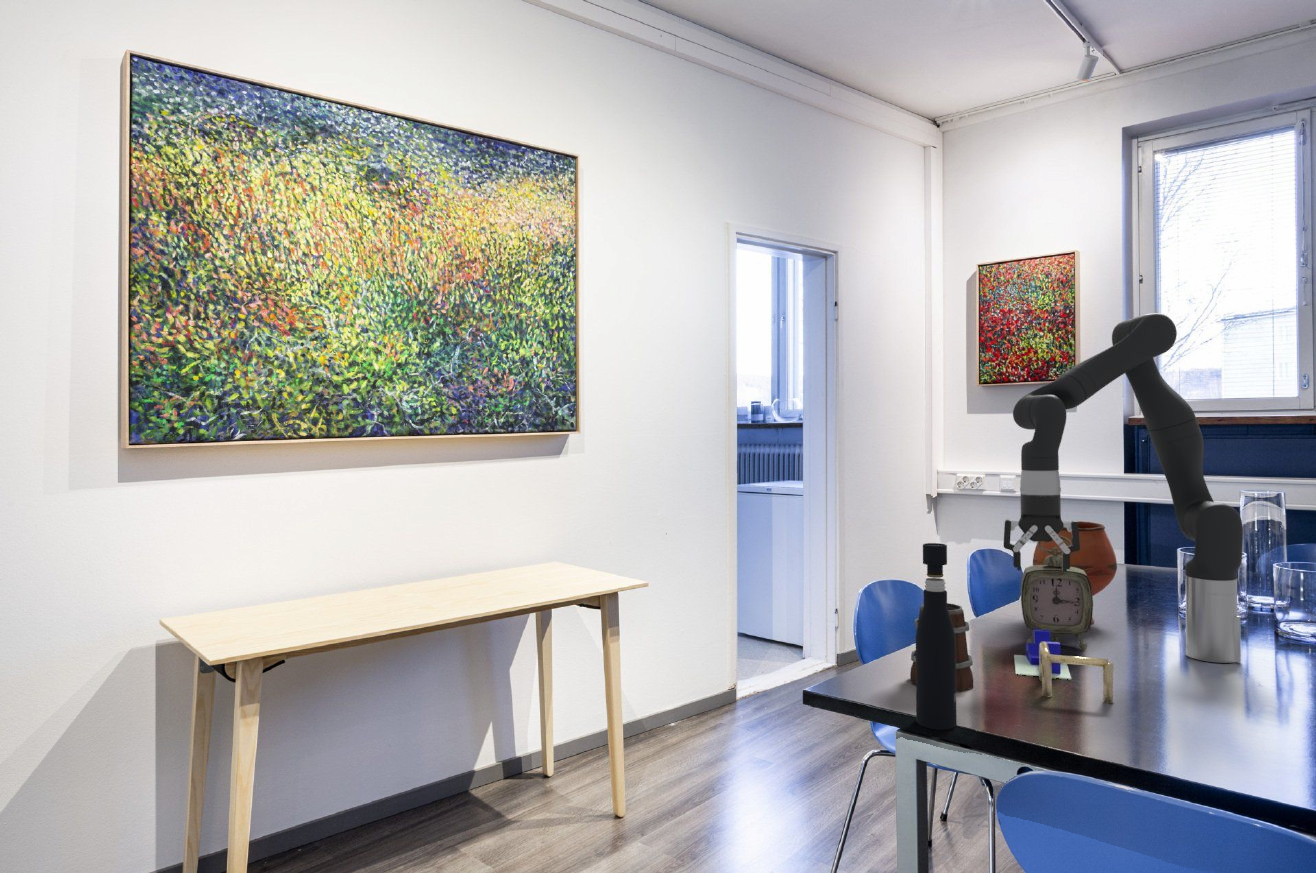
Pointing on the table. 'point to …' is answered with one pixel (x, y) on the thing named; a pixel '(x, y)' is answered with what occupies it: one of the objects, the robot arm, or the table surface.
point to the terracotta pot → (1086, 554)
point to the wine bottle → (935, 648)
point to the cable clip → (1033, 649)
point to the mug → (962, 658)
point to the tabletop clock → (1056, 598)
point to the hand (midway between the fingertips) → (1041, 570)
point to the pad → (1036, 668)
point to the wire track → (1047, 658)
